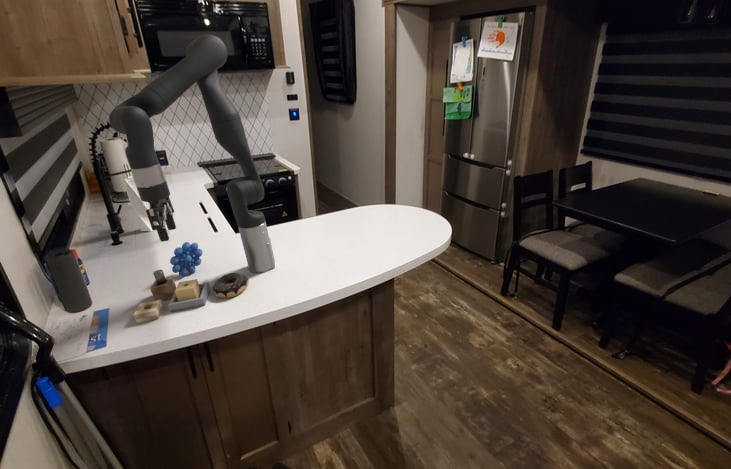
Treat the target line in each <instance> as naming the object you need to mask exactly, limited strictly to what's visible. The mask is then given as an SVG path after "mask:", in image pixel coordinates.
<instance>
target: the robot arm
mask: <svg viewBox="0 0 731 469" xmlns="http://www.w3.org/2000/svg"><path fill="white" fill-rule="evenodd" d="M226 46H227V45H226V44H225V43H224V41H222V39H221V38H220V37H219V36H216V35H214V34H208V33H207V34H203V35H200V36H198V37H197V38H195V39H194V40H192V41H191V42H190V43H189V44H188V45H187V46H186V49H185V50H186V52H185V53H186V54H185V55H186V56H185V57H184V58H182V59H181V60H179V61H178V63H176V64H174V65H173V66H171V67H170V68H168V69H167V70H166V71H164V72H162V73H161V74H160V75H158V76H157V77H156V78H154V79H153V80H152V81H150V82H149V83H148V84H147V85H146V86H144V87H143V88H141V90H140V91H138V92H137V93H136V94H135V95H132V96H130V97H129V98H128V99H126V100H124V101H122V102H121V103H118V105H116V106H115V107H114V108H113V109H112V110H111V112H110V114H109V116H108V122H109V125H110V127H111V128H112V130H114V131H115V132H116V133H118V134H121V135H125V137H126V141H127V145H128V146H126V147H125V149H124V151H125V157H126V159H127V162H128V164H129V168H130V170H131V174H132V175H131V176H133V179H134V182H135V185H136V187H137V190H138V193H139V196H140V198H141V200H142V201H143V202H148V203H149V209H147V210H146V213H147V215H148V218H149V221H150V224H151V227H152V230H153V231H156V232H157V234H158V237H159V241H160V242H163V243H164V242H168V241H169V239H170V236H169V233H168V230H169V231H174V230H176V229H177V225H176V223H175V220H174V213H175V209H174V207H173V203H172V202H171V201H172V200H171V199H170V196H171V192H170V191H171V190H170V189H169V186H168V183H167V178H166V176H165V174H164V171H163V169H162V166H161V164H160V160H159V158H158V155H157V151H156V149H155V140H154V139H155V138H154V130H153V124H152V121H151V119H152V117H155V116H157V115H160V114H163V113H164V112H165V111H166V110H167V109H168V108H170V107H171V106H172V105H173V104H174V103H175V102H176V101H177V100H178V99H179V98H181V97H182V96H183V94H185V92H187V91H188V90H189V89H190V88H191V87H192V86H194V84H195V83H197V86H198V88H199V90H200V93H201V97H202V100H203V103H204V106H205V109H206V112H207V114H208V118H209V122H210V124H211V129H212V132H213V136H214V138H215V140H216V142H217V143H218V144H219V145H220V147H221V148H222V149H224V150H225V152H227V153H228V154H229V155H230V156H232V158H234V160H235V161H236V162H237V164H238V165H239V166H240V169H241V171H242V173H243V177H239V178H237V179H233V180H230V181H228V182H227V184H226V192H227V197H228V199H229V203H230V206H231V209H232V213H233V215H234V218H235V221H236V225H237V227H238V231H239V234H240V240H241V243H242V246H243V250H244V254H245V259H246V262H247V266H248V270H249V271H250V273H256V274H258V273H259V274H260V273H264V272H267V271H269V270H271V269H275V268H276V265H275V264H276V260H275V255H274V250H273V246H272V243H271V242H272V241H271V238H270V237H269V236H270V235H269V231H268V227H267V222H266V218H265V215H264V213H263V212H262V211H260V210H259V211H258V210H249V209H248V206H251V205H254V204H256V203H259V202H261V201H262V200H264V198H265V189H264V185H263V182H262V180H261V176H260V174H259V172H258V168H257V166H256V164H255V161H254V158H253V156H252V152H251V150H250V147H249V144H248V139H247V136H246V132H245V128H244V125H243V122H242V117H241V115H240V112H239V111H238V109H237V108H236V105H234V103H233V101H232V100H231V98H230V97H229V96H228V95H227V94H226V92H225V89H224V88H223V86H222V83H221V80H220V77H219V73H218V69H220V68H222V67H223V66H224V65H225V64H226V62H227V59H228V49H227V47H226ZM150 118H151V119H150ZM166 227H167V228H166Z"/></svg>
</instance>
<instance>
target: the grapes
mask: <svg viewBox="0 0 731 469" xmlns="http://www.w3.org/2000/svg"><path fill="white" fill-rule="evenodd" d="M173 255H174V256H172V257H170V260H169V263H170V264H171V265H172V268H171V271H172V272H173V273H175V274H177V273H178V274H179V276H180V277H184V276H186V275H187V274H190V275H191V274H193V273H195V271H196V267H199V266H200V265H201V264H202V259H201V258H200V257H201V256H202V255H203V250H202V248H199V245H198V243H197V242H192V243H190V242H188V241H186V242H184V243H182V244H181V247H180V246H178V247H176V248H175V249H174V251H173Z"/></svg>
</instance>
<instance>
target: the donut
mask: <svg viewBox="0 0 731 469" xmlns="http://www.w3.org/2000/svg"><path fill="white" fill-rule="evenodd" d="M248 286H249V277H247V275H245V274H242V273H239V272H238V273H237V272H229V273H227V274H224V275H222V276H221V277H219V278H217V279H216V280H215V282H214V283H213V286H212V293H213V294H214V295H215V296H216V297H217V298H220V299H229V298H234V297H236V296H238V295H240V294H241V293H243V292H244V291H245V290H246V289H247V288H248Z"/></svg>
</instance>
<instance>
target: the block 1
mask: <svg viewBox="0 0 731 469" xmlns="http://www.w3.org/2000/svg"><path fill="white" fill-rule="evenodd" d="M165 278H166V284H164V285H158V284H157V282H156V280H154V281H153V283H152V284H151V285H150V286H151V287H150V289H149V290H150V292H151V294H152V296H153V299H154V300H153V301H156V300H161V302H163V301H167V300H171V299H172V297H173V294H174V292H175V290H176V288H177V286H176V282H175V280H174V276H170V277H165Z"/></svg>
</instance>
